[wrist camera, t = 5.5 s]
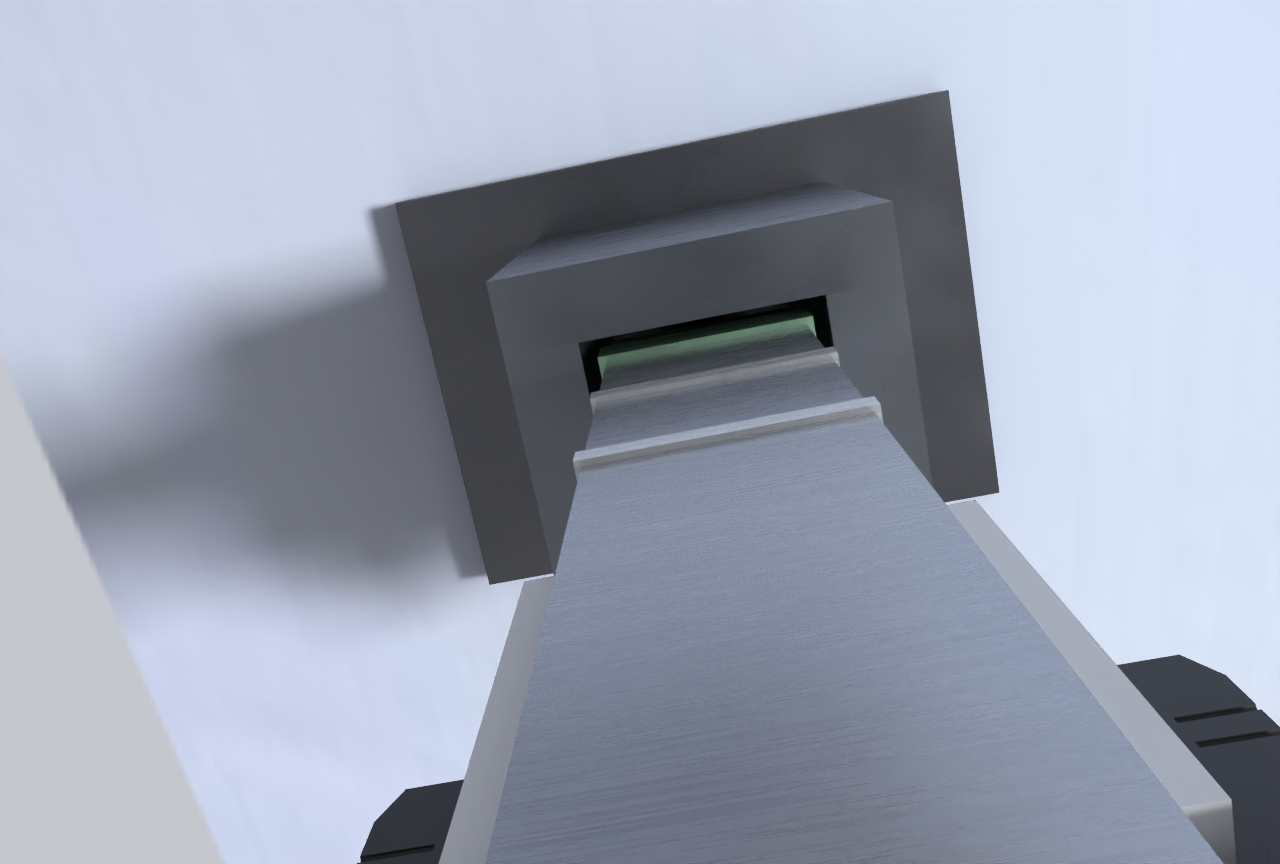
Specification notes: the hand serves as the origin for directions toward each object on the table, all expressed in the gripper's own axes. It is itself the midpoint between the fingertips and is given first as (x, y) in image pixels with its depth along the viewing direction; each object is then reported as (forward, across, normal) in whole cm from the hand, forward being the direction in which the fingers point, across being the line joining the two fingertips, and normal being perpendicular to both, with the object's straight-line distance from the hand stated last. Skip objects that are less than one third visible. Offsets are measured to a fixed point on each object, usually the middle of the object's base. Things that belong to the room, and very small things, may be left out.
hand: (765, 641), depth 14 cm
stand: (+21, 0, 0) cm, 21 cm away
